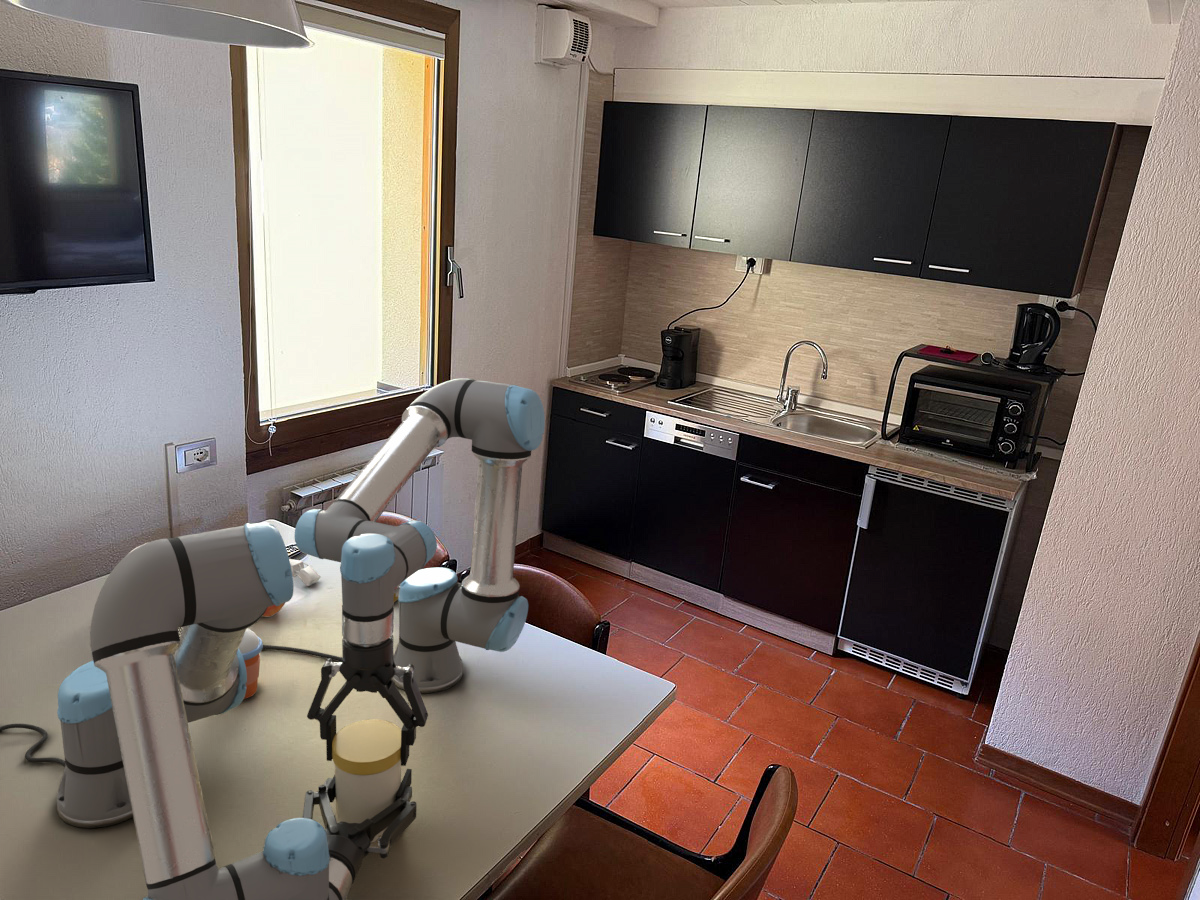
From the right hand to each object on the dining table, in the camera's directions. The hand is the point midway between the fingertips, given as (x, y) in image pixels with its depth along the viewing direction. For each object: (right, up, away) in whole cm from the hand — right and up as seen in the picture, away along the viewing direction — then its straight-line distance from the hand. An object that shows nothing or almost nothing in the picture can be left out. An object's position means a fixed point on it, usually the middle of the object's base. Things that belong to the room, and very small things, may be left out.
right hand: (368, 757), depth 136 cm
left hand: (0, -4, +6) cm, 7 cm away
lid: (0, +3, -1) cm, 3 cm away
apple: (-41, +10, +65) cm, 78 cm away
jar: (-1, -12, +4) cm, 13 cm away
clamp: (-44, +16, +85) cm, 97 cm away
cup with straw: (-35, 0, +35) cm, 50 cm away
